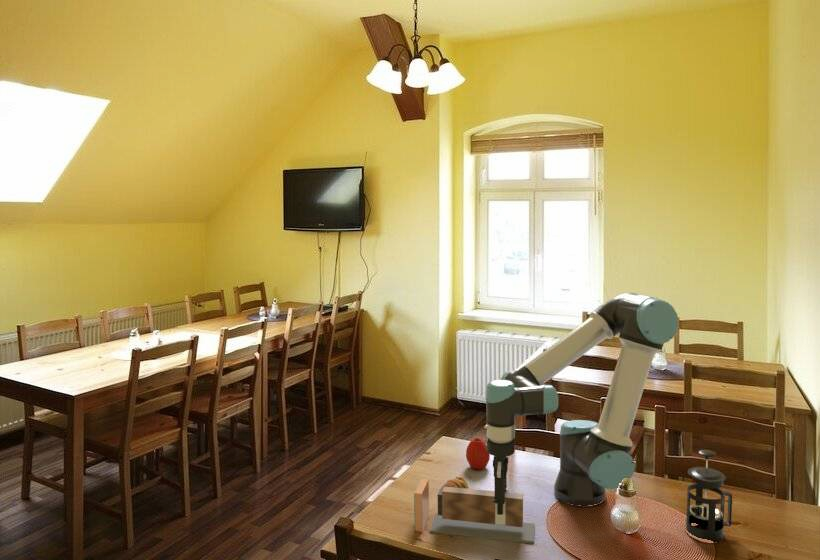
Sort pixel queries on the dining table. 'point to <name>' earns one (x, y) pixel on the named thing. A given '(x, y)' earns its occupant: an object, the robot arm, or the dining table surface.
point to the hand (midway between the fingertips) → (500, 520)
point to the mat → (483, 530)
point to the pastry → (456, 483)
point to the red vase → (477, 454)
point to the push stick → (478, 506)
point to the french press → (707, 502)
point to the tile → (421, 504)
